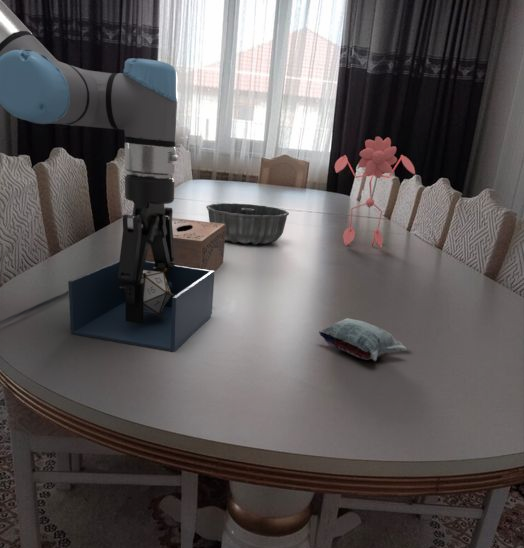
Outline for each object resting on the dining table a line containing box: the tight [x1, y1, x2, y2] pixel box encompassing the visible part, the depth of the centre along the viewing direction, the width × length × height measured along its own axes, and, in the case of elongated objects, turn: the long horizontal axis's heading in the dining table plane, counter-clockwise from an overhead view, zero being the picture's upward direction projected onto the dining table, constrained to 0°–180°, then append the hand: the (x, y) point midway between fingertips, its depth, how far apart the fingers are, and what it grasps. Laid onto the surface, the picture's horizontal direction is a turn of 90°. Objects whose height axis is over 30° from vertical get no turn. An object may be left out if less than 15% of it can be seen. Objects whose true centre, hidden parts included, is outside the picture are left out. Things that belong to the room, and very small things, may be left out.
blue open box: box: [67, 259, 215, 353], centre depth 92 cm, size 30×17×8 cm, turn 167°
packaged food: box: [318, 317, 407, 362], centre depth 84 cm, size 9×12×5 cm
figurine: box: [334, 136, 416, 254], centre depth 168 cm, size 15×26×35 cm, turn 94°
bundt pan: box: [205, 202, 290, 246], centre depth 167 cm, size 26×26×10 cm
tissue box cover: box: [146, 217, 226, 273], centre depth 123 cm, size 26×14×10 cm, turn 173°
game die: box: [119, 268, 175, 318], centre depth 87 cm, size 9×8×10 cm
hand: (147, 312), depth 88 cm, fingers closed on game die, 10 cm apart
